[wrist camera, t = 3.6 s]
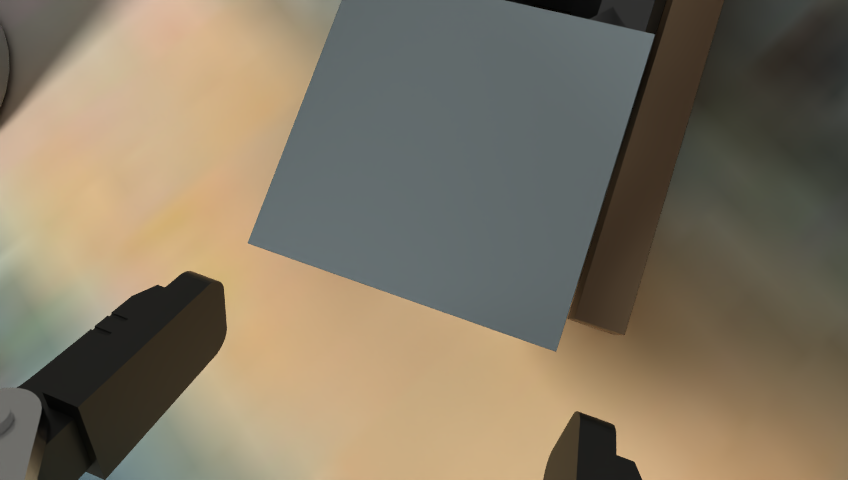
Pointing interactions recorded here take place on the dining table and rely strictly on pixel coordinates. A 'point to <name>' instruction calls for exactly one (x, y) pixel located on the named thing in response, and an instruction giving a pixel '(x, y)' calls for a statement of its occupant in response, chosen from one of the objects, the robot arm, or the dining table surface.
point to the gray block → (457, 156)
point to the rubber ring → (603, 10)
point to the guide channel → (645, 166)
